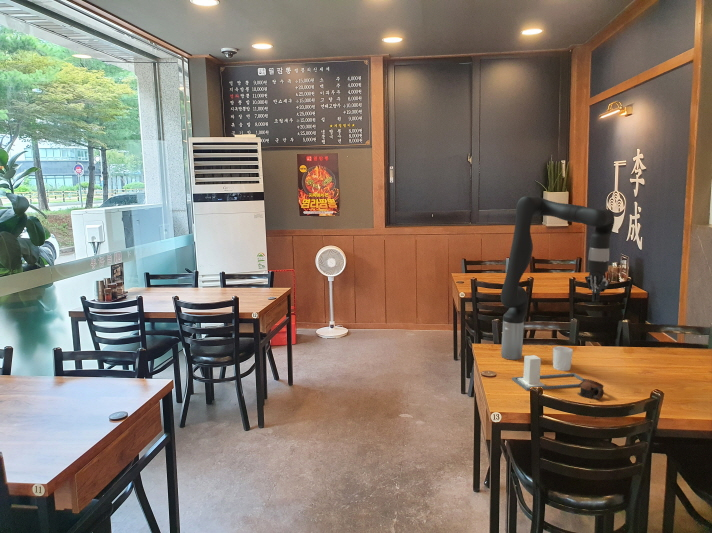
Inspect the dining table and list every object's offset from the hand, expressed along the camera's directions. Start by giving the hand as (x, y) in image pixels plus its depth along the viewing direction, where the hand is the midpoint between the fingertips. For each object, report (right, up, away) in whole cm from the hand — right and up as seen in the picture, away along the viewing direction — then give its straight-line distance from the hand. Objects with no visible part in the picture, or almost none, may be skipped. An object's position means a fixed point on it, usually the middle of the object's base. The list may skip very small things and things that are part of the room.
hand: (595, 301), depth 215 cm
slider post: (-28, -32, -5) cm, 43 cm away
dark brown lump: (-8, -36, -15) cm, 40 cm away
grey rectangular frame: (-19, -34, -3) cm, 39 cm away
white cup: (-8, -31, +14) cm, 35 cm away
